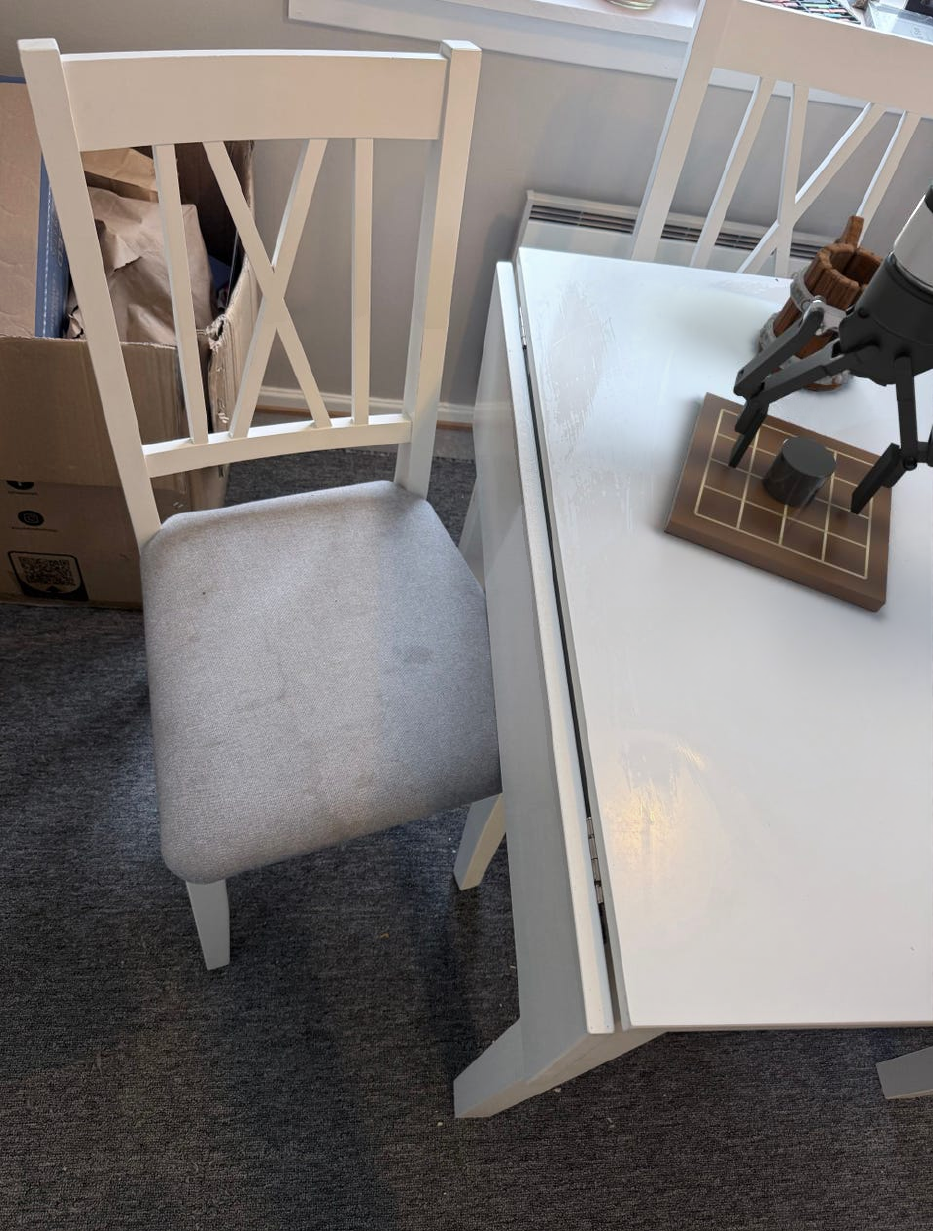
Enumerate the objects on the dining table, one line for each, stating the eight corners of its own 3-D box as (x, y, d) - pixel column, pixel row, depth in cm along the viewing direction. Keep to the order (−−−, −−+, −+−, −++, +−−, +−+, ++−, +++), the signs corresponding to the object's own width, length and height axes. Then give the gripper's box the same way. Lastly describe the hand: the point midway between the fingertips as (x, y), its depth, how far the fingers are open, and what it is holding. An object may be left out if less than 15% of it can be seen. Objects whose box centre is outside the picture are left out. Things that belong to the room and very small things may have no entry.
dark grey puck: (825, 497, 80) (847, 467, 77) (789, 514, 78) (811, 483, 75) (787, 461, 82) (807, 430, 79) (751, 477, 80) (770, 445, 77)
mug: (752, 380, 91) (820, 241, 81) (744, 326, 101) (803, 197, 91) (856, 409, 91) (937, 274, 81) (836, 352, 101) (906, 226, 91)
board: (876, 613, 74) (886, 602, 73) (663, 531, 76) (669, 520, 75) (885, 471, 86) (893, 460, 85) (701, 402, 88) (707, 391, 86)
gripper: (1090, 301, 63) (915, 500, 80) (789, 195, 65) (682, 413, 82) (1101, 355, 58) (914, 554, 76) (778, 241, 60) (667, 461, 78)
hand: (793, 481), depth 79 cm, fingers open, 11 cm apart
